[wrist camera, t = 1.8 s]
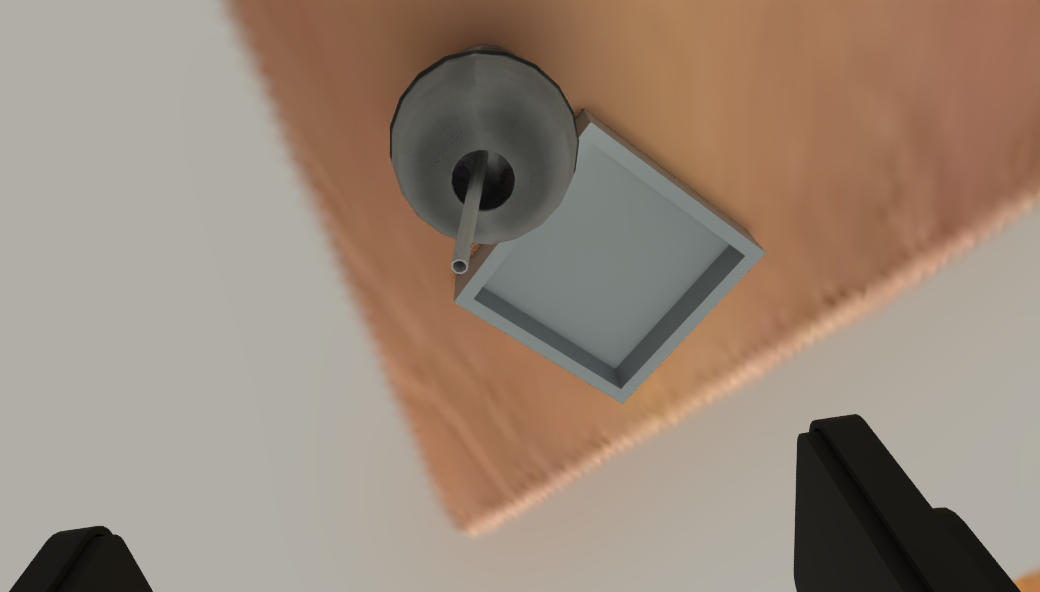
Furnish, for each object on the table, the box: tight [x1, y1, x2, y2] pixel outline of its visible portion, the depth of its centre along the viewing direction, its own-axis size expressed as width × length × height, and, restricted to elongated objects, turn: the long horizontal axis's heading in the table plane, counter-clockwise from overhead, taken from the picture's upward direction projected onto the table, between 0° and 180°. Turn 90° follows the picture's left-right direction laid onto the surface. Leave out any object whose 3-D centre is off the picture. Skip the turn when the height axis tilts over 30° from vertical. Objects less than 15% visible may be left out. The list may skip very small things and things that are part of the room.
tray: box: [454, 109, 766, 404], centre depth 40 cm, size 12×12×3 cm
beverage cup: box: [390, 45, 579, 274], centre depth 28 cm, size 7×7×20 cm
